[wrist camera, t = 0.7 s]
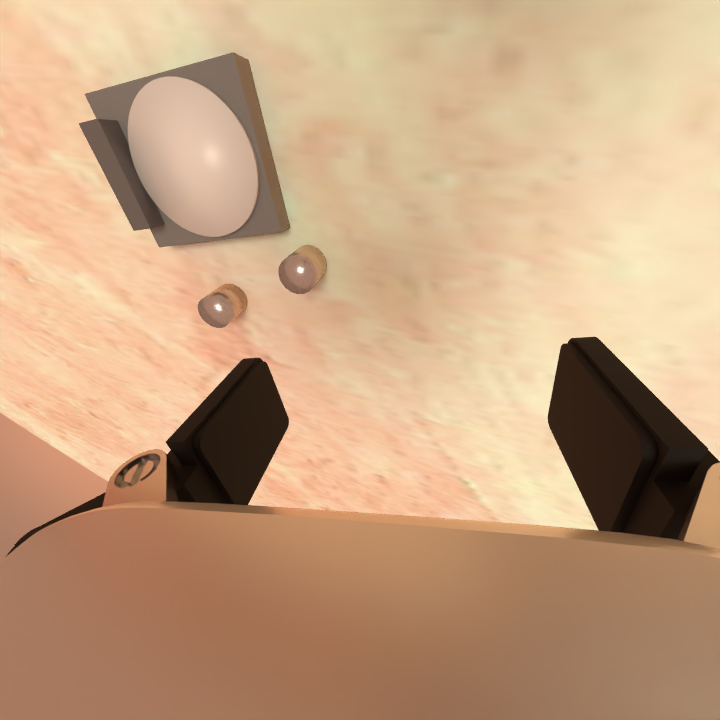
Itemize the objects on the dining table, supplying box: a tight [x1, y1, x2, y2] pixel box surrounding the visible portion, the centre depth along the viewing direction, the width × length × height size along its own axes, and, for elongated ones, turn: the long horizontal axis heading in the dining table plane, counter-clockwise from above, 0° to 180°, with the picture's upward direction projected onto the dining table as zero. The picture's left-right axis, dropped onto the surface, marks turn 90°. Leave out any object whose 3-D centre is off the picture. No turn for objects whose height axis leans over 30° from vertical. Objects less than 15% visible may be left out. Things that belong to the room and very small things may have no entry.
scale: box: [79, 53, 290, 247], centre depth 33 cm, size 15×17×5 cm
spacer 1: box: [198, 284, 247, 328], centre depth 42 cm, size 4×4×5 cm
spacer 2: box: [279, 245, 327, 294], centre depth 37 cm, size 4×4×5 cm
